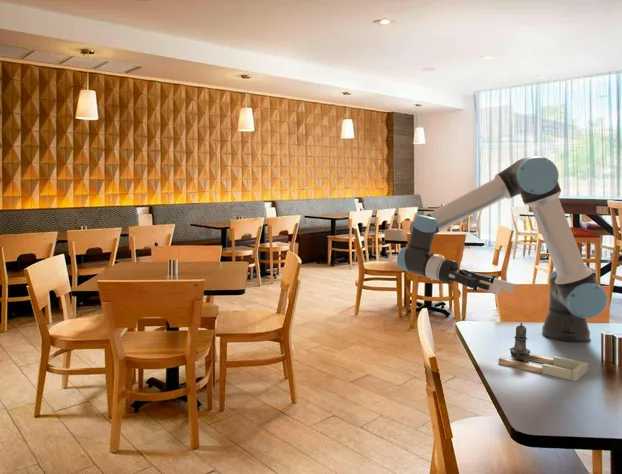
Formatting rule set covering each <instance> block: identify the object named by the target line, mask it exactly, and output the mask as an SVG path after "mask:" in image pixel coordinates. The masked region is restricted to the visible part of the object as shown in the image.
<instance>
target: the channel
mask: <svg viewBox="0 0 622 474" xmlns="http://www.w3.org/2000/svg"><path fill="white" fill-rule="evenodd" d="M510 355H511V354H510ZM511 357H512V355H511ZM511 359H512V358H511ZM511 359H510V358H506V357H502V356H500V357H499V358H498V365H499V364H500V365H503V366H509V367H512V368H517V369H520V370H525V371H530V372H534V373H537V374H541V375H542V374H543V373H542V365H541V366H540V365H536V364H532V363H529V364H528V363H524V362H519V361H515V360H511ZM553 359H554V358H552V357H551V358H550V357H547V356H543V355H538V354H534V353H533V354H532V353H529V357H528V358H527V359H526V360H527V361H533V362H537V363H540V364H548V365H552V366H554V365H553Z"/></svg>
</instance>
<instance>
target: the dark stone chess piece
mask: <svg viewBox="0 0 622 474" xmlns="http://www.w3.org/2000/svg"><path fill="white" fill-rule="evenodd" d="M513 338H514V346H513V347H510V348H509V352H510V355H512V356H511V357H512V358H511V360H515V361H519V362H524V363H528V364H530V361H529V360H527V358H528V357H529V354H532V352H531V350H530V349H528V348H527V340H528V338H527V327H526V326H524V325H523V323H522V322H520V324H519V325H517V326H516V327H515V336H514V337H513Z"/></svg>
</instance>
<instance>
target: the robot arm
mask: <svg viewBox="0 0 622 474" xmlns="http://www.w3.org/2000/svg"><path fill="white" fill-rule="evenodd" d="M561 192H562V189H561V187H560V184H559V170H558V167H557V166H556V164H555V163H554V162H553V161H552V160H550V159H549V158H548V157H544V156H541V155H532V156H527V157H524V158H523V157H522V158H520V159H519V160H517V161H515V162H514V163H512V164H511V165H510V166H508V167H507V168H504V170H502V171H499V172H498V173H496V174H495V175H494V178H493V179H491V180H490V181H487V182H486V183H483V184H481V185H479V186H478V187H476V188H475V189H472V190H470V191H468V192H467V193H465V194H463V195H461V196H459V197H458V198H455V199H453V200H451V201H450V202H448V203H446V204H444V205H443V206H440V207H438V208H436V209H435V210H432V211H431V212H429V213H427V214H426V215H425V214H424V215H423V214H416V215H415V217H414V220H413V221H412V222H411V223H410V225H409V232H410V237H409V241H408V243H407V244H408V245H407V247H402V248H401V249H400V250H399V253H398V254H397V258H396V262H397V263H396V264H397V267H398V268H400V269H401V270H404V271H407V272H408V273H413V274H415V275H419V276H422V277H425V278H428V279H430V281H434V280H435V281H439V282H440V283H445V284H447V285H451V284H453V283H454V282H456V283H458V284H460V285H463V286H465V287H468V288H470V289H472V290H473V291H475V292H477V290H481V291H484V292H486V293H490V294H494V295H496V296H501V293H502V290H503V291H506V292H510V293H513V292H514V290H515V287H516V283H513V282H509V281H506V280H504V279H503V280H502V279H499V278H496V277H497V276H496V275H492V276H491V275H486V274H483V273H478V272H474V271H471V270H470V271H469V270H468V269H463V268H462V269H459V263H458V262H457V261H454V260H451V259H447V258H445V257H441V256H438V255H434V254H431V253H430V252H431V249H432V246H433V241H434V238H435V235H436V234H438V233H439V232H442V231H444V230H446V229H448V228H450V227H452V226H453V225H455V224H457V223H460V222H462V221H463V220H465V219H468V218H469V217H472V215H475V214H477V213H479V212H480V211H483V210H485V209H486V208H489V207H490V206H492V205H494V204H496V203H498V202H500V201H502V200H504V199H508V200H510V199H512V198H514V197H517V196H519V195H520V197H521V199H522V201H523V204H524V205H526V206H528V207H529V208H531V210H532V213H533V215H534V218H535V221H536V223H537V226H538V229H539V231H540V233H541V234H540V235H541V236H542V240H543V241H544V244H545V246H546V249H547V251H548V254H549V257H550V259H551V262H552V265H553V266H554V270H553V271H551V273H550V278H549V299H548V300H549V302H548V313H547V315H546V318H545V320H544V324H543V325H542V328H541V334H542V335H543V336H545V337H547V338H549V339H554V340H557V341H564V342H565V341H566V342H587V341H589V340H590V337H591V332H590V329H589V325H588V321H587V319H593V318H596V317H597V316H599V315H601V313H603V312H604V310H605V308H606V307H607V304H608V296H607V294H606V291H605V289H604V288H603V287H602V286H601V285H599V284H598V281H597V279H596V276H595V273H594V271H593V269H591V268H589V267H586V264H585V263H584V260H583V257H582V255H581V253H580V249H579V247H578V244H577V242H576V239H575V237H574V234H573V231H572V228H571V227H570V224H569V221H568V219H567V216H566V214H565V210H564V209H563V207H562V203H561V201H560V195H561Z"/></svg>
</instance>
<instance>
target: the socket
mask: <svg viewBox="0 0 622 474" xmlns="http://www.w3.org/2000/svg"><path fill="white" fill-rule="evenodd" d="M552 359H553V365H549V364H545V363H541V364H542V365H541V367H542V374H544V375H549V376H552V377H556V378H560V379H564V380H569V381H573V382H576V381H578V380H580V378H581V377H583V376H584V375H585V374H586V373H587V372H588V365H589V363H588V362H585V361H579V360H575V359H571V358H570V359H569V358H566V357H565V358H564V357H563V356H555V355H554V356H553V358H552Z"/></svg>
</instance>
